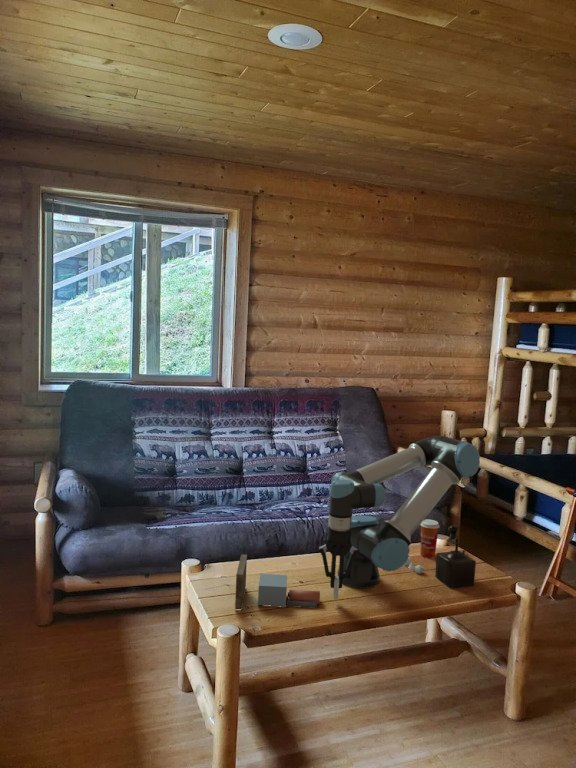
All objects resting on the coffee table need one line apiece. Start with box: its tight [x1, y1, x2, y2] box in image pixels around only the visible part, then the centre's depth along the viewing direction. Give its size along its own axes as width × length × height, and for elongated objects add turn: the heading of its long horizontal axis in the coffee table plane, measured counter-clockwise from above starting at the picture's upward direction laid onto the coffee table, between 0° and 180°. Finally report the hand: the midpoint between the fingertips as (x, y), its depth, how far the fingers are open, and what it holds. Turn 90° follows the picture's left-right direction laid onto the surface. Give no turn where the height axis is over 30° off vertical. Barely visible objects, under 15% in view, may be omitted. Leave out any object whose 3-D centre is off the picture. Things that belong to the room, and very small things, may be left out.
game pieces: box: [402, 556, 425, 575], centre depth 226 cm, size 12×3×3 cm, turn 25°
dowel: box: [288, 589, 321, 605], centre depth 194 cm, size 10×4×4 cm, turn 89°
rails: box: [286, 591, 318, 609], centre depth 194 cm, size 10×7×2 cm
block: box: [257, 573, 288, 608], centre depth 194 cm, size 9×9×7 cm
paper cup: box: [419, 518, 441, 559], centre depth 239 cm, size 8×8×14 cm
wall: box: [234, 553, 248, 610], centre depth 194 cm, size 2×16×12 cm, turn 179°
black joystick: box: [434, 525, 477, 589], centre depth 218 cm, size 16×11×18 cm
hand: (335, 596), depth 194 cm, fingers closed
